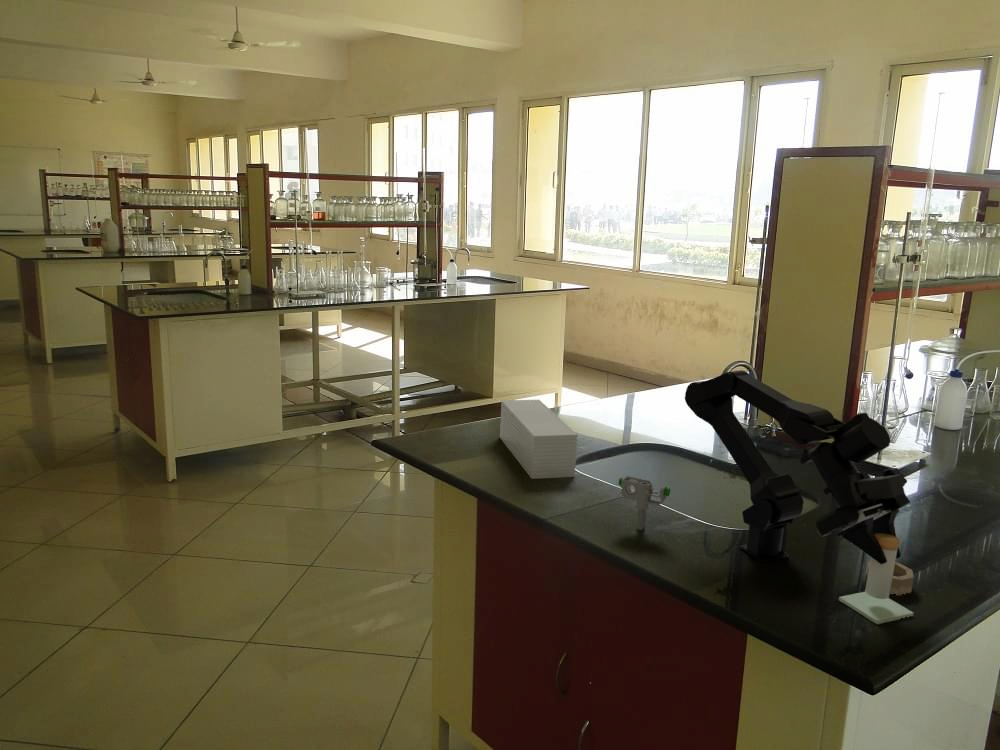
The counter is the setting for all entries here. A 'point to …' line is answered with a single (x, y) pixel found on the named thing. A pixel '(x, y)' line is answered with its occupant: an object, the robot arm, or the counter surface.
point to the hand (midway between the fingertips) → (891, 560)
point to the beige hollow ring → (898, 579)
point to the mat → (875, 607)
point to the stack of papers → (538, 439)
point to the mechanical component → (642, 495)
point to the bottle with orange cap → (882, 568)
